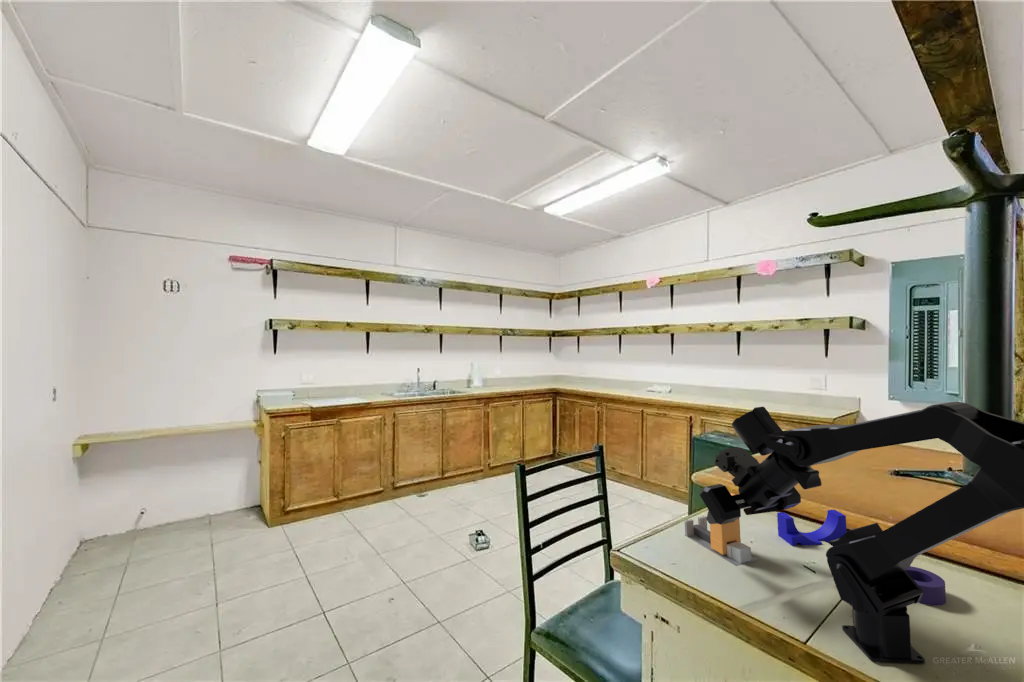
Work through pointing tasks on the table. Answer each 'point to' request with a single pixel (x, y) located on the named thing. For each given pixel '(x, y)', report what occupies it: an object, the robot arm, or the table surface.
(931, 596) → the lever
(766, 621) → the table surface
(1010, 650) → the table surface
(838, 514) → the cable clip
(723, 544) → the orange block
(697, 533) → the grey pronged base
